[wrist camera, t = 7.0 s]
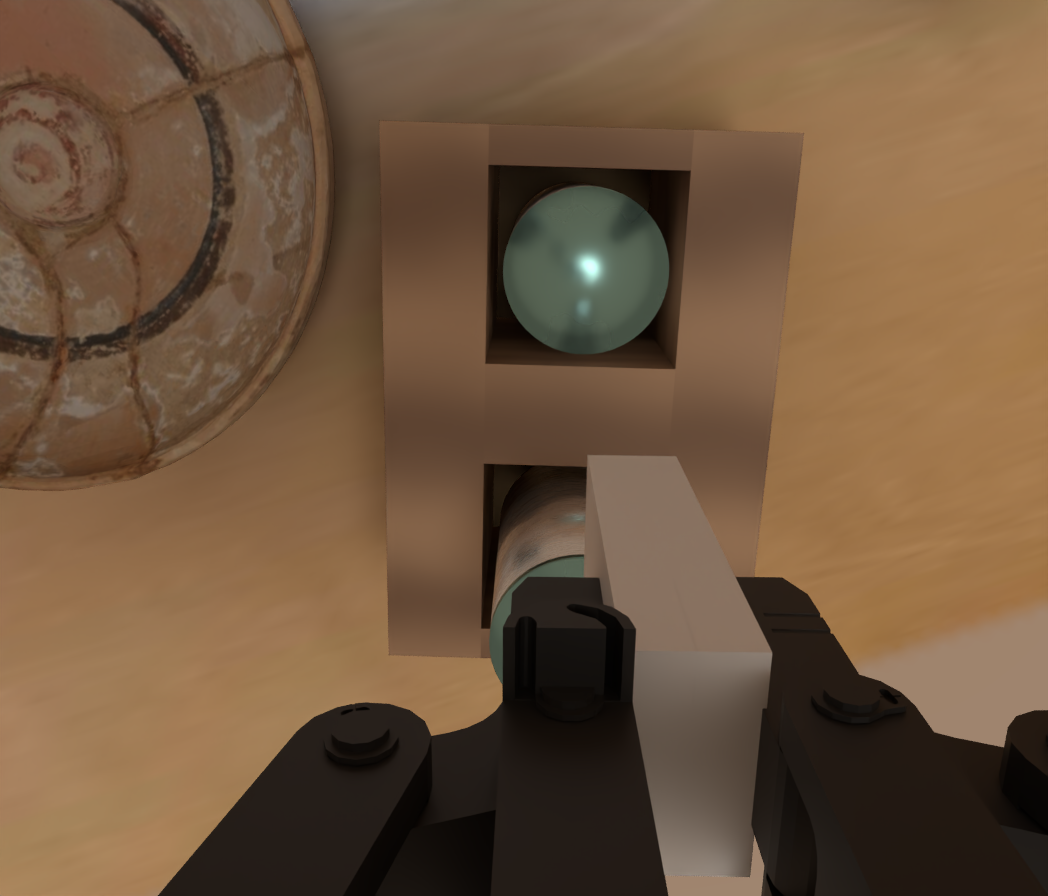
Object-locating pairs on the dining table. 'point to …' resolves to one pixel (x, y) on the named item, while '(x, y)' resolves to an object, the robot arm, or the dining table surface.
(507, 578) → the peg
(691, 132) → the walnut block
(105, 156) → the ceramic bowl
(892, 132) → the dining table surface
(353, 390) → the dining table surface
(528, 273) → the peg
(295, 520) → the dining table surface
